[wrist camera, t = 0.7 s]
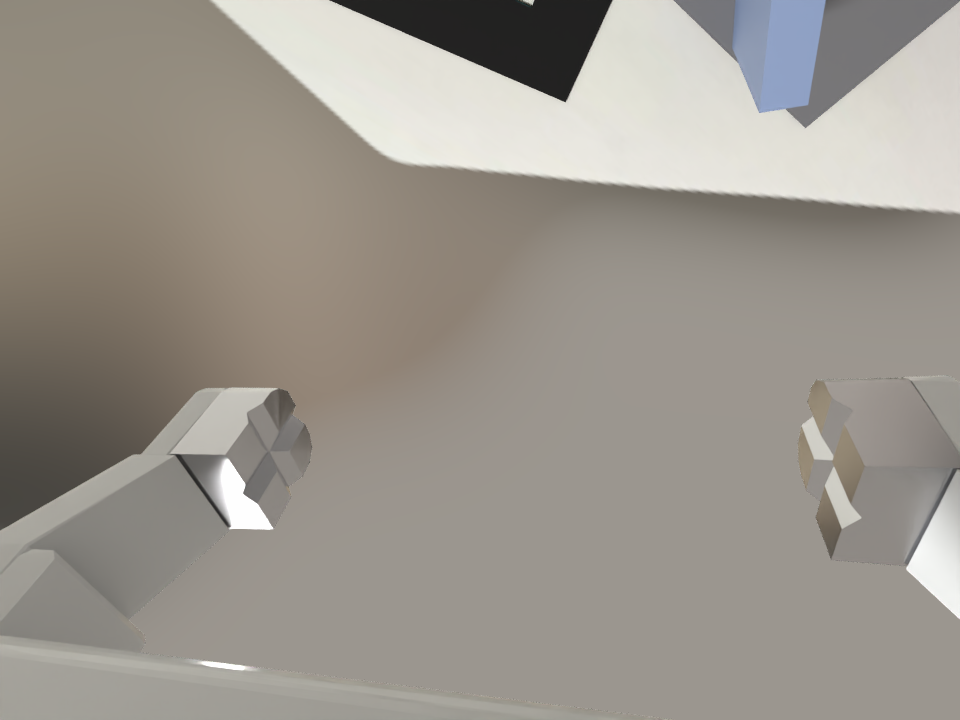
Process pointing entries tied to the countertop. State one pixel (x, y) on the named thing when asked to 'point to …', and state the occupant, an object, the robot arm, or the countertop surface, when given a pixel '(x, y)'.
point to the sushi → (502, 34)
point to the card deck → (777, 49)
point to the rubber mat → (837, 40)
